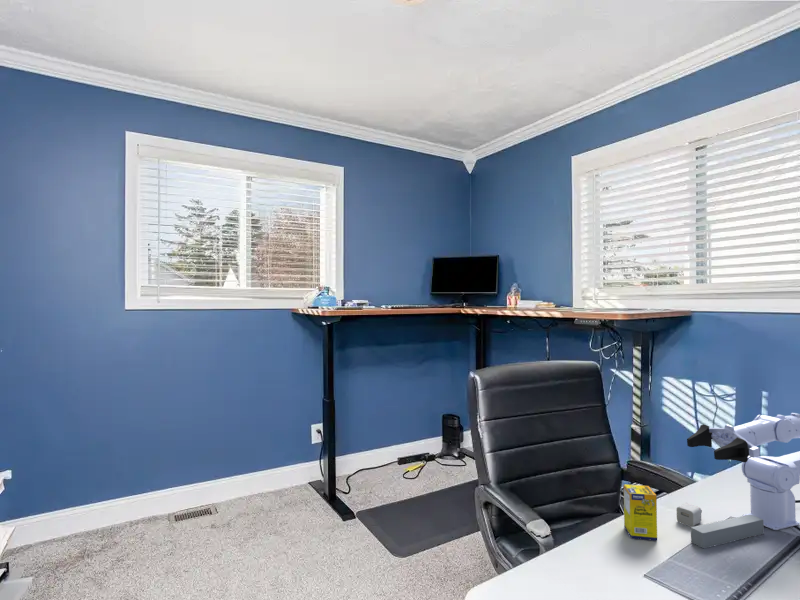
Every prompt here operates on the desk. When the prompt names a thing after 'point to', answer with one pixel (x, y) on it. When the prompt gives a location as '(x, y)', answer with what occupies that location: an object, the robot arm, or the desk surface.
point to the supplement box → (640, 512)
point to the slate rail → (726, 530)
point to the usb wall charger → (689, 514)
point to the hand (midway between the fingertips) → (701, 448)
